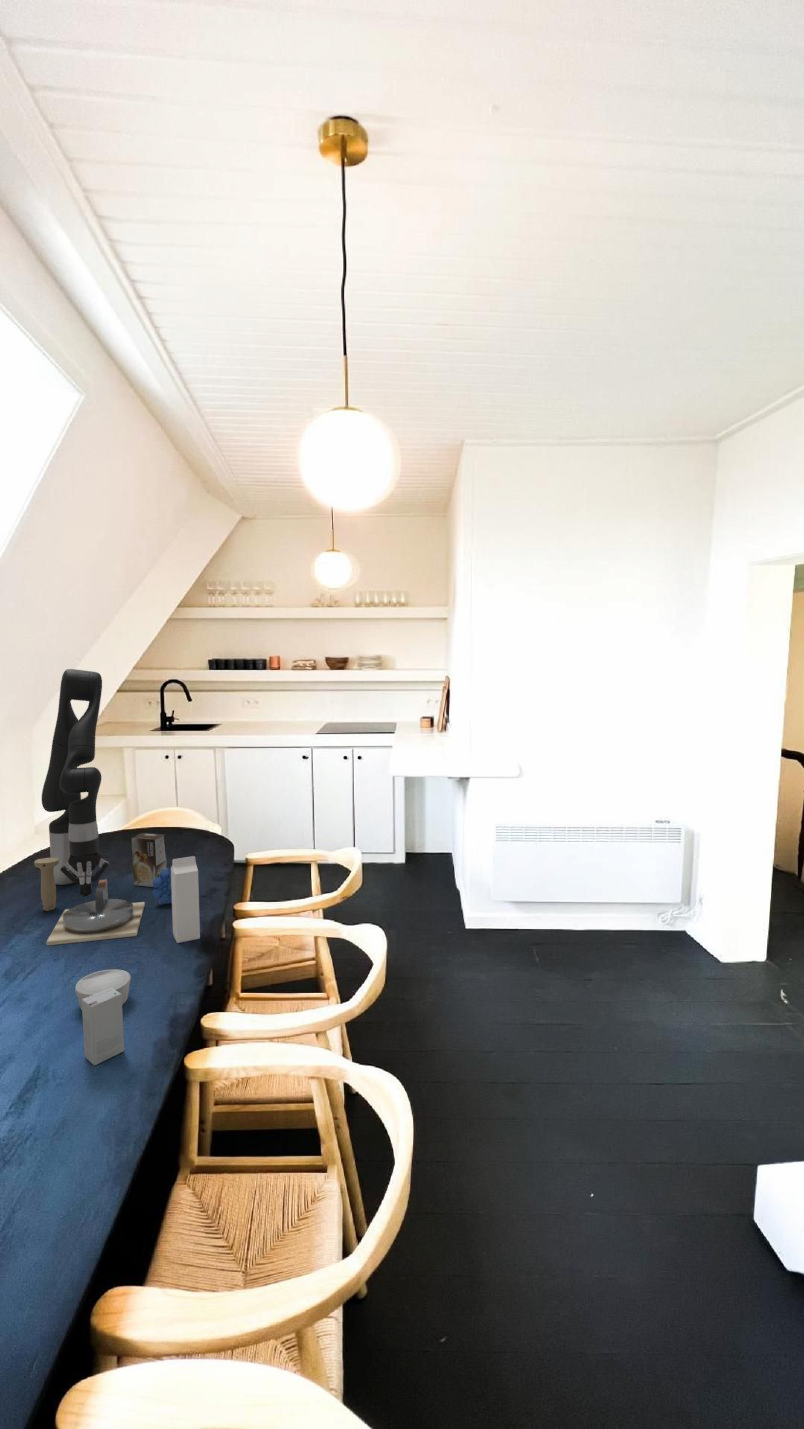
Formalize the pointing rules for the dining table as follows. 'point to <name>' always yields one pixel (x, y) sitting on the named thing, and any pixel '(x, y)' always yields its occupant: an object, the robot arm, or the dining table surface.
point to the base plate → (126, 930)
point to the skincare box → (103, 1025)
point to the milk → (185, 899)
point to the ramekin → (103, 984)
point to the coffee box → (148, 858)
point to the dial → (98, 913)
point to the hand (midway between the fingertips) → (86, 895)
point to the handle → (47, 882)
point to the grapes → (163, 887)
